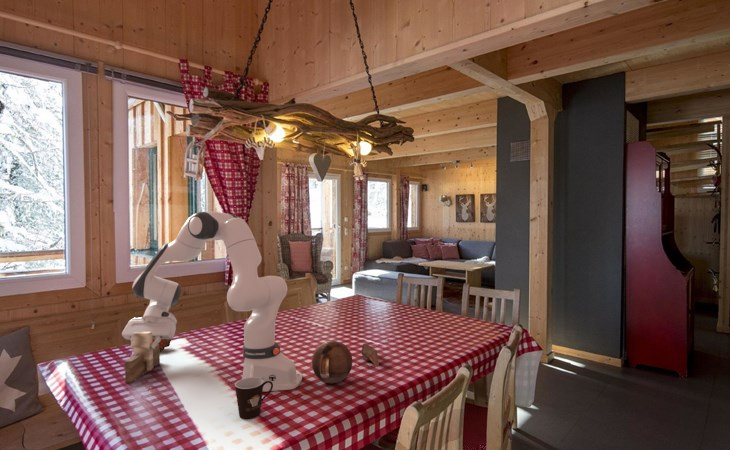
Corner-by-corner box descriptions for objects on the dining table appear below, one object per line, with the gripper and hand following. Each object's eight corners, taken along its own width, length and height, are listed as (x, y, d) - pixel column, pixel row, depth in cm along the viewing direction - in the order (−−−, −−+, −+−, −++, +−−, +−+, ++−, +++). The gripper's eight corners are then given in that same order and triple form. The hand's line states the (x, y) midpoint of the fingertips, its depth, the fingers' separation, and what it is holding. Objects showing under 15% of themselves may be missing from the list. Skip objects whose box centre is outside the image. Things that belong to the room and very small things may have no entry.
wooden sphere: (332, 370, 161) (331, 333, 161) (360, 380, 152) (360, 340, 151) (303, 383, 150) (303, 343, 149) (333, 394, 140) (332, 351, 140)
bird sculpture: (371, 374, 158) (371, 361, 157) (355, 353, 182) (355, 342, 181) (387, 372, 159) (387, 359, 159) (369, 351, 183) (369, 340, 183)
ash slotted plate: (153, 368, 164) (152, 331, 163) (149, 370, 161) (148, 333, 161) (137, 368, 164) (136, 331, 163) (134, 370, 161) (133, 333, 161)
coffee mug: (234, 423, 122) (234, 390, 121) (236, 409, 130) (235, 379, 130) (274, 417, 125) (273, 385, 124) (273, 404, 133) (272, 374, 133)
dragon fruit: (173, 352, 190) (145, 360, 185) (170, 338, 196) (142, 345, 190) (171, 341, 185) (142, 349, 180) (168, 327, 191) (140, 334, 185)
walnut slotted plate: (159, 362, 172) (159, 344, 172) (131, 382, 152) (131, 361, 152) (154, 362, 172) (153, 344, 172) (125, 382, 152) (124, 361, 152)
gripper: (127, 313, 169) (112, 344, 159) (175, 313, 169) (164, 344, 159) (133, 321, 174) (120, 352, 164) (180, 321, 173) (170, 351, 164)
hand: (142, 348), depth 162 cm, fingers closed on ash slotted plate, 6 cm apart
